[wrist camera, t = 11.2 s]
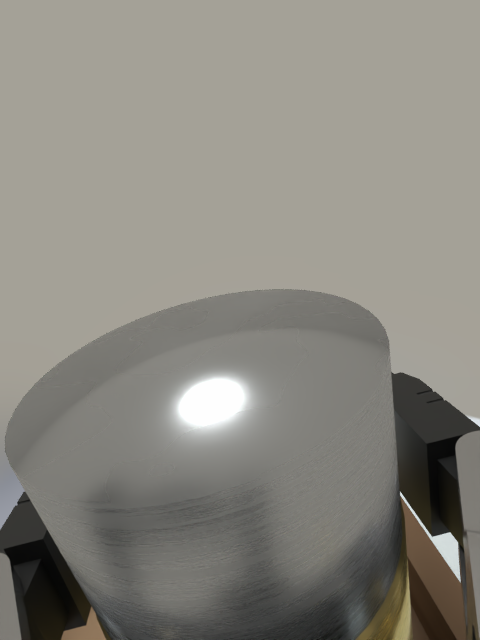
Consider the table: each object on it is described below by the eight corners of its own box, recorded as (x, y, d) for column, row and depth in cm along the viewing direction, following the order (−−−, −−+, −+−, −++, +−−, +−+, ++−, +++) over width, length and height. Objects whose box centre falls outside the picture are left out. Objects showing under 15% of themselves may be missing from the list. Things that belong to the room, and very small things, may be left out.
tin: (203, 951, 8) (-128, 580, 3) (199, 625, 13) (75, 329, 9) (480, 868, 8) (514, 413, 4) (361, 582, 14) (317, 270, 9)
